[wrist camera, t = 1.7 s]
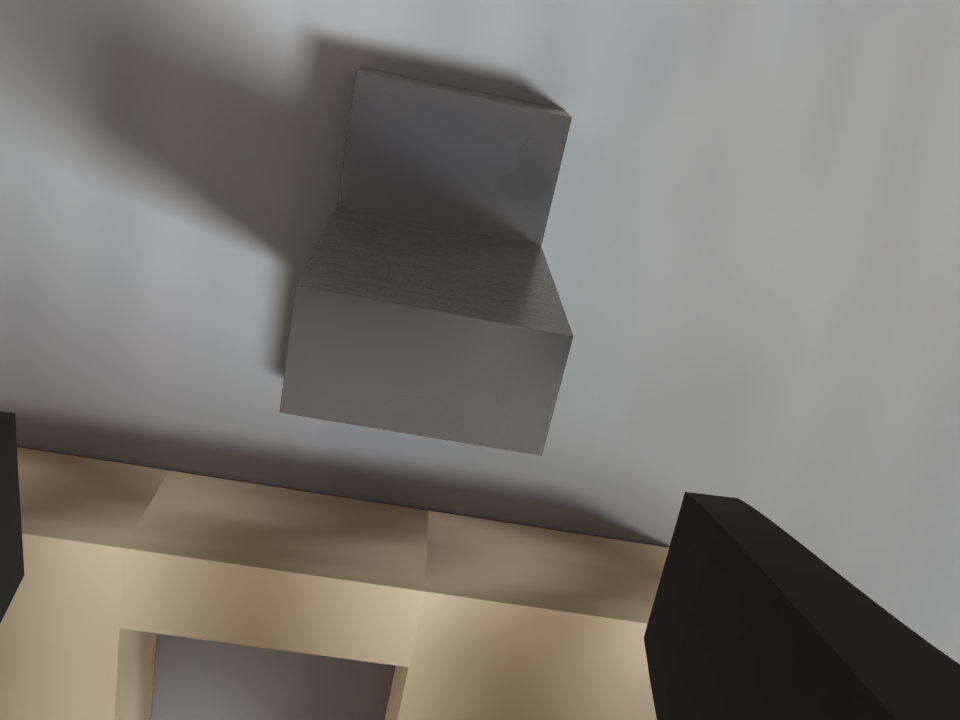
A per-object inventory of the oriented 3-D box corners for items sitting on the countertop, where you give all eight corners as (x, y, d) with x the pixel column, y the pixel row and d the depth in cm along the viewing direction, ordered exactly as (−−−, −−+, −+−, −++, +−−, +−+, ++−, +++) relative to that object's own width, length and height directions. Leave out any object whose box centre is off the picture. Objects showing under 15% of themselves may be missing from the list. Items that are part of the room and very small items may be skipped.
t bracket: (564, 109, 17) (618, 164, 12) (490, 421, 20) (507, 586, 14) (362, 66, 17) (319, 103, 11) (315, 391, 19) (261, 551, 14)
